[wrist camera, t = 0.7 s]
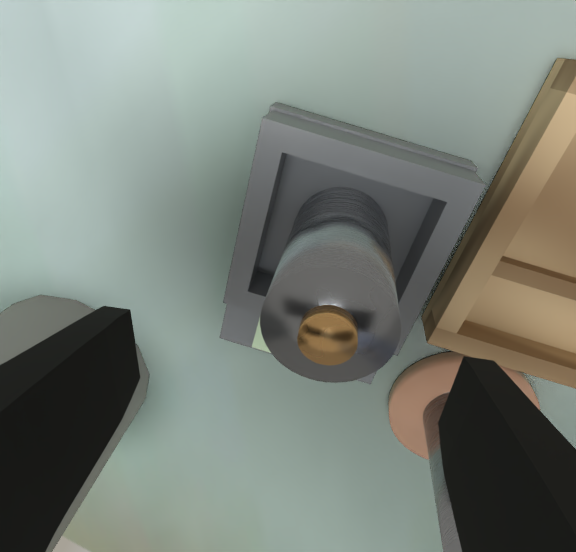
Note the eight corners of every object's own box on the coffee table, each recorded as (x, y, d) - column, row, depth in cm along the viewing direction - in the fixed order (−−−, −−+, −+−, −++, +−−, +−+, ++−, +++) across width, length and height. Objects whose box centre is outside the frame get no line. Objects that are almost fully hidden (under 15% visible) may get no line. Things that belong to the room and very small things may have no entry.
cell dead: (480, 452, 20) (526, 614, 14) (410, 431, 20) (429, 584, 14) (517, 403, 18) (587, 566, 12) (442, 380, 18) (477, 532, 13)
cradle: (369, 368, 19) (370, 411, 17) (225, 324, 20) (208, 361, 17) (470, 160, 14) (490, 182, 12) (276, 102, 14) (259, 113, 12)
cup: (60, 427, 25) (-96, 625, 17) (-32, 318, 22) (-285, 496, 13) (176, 404, 23) (63, 625, 14) (91, 277, 19) (-125, 465, 11)
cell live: (368, 283, 16) (371, 412, 11) (284, 258, 16) (242, 372, 11) (402, 203, 14) (427, 305, 9) (308, 174, 14) (273, 258, 9)
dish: (490, 465, 21) (494, 480, 21) (369, 428, 21) (369, 441, 21) (563, 376, 18) (571, 390, 17) (420, 333, 18) (423, 344, 17)
